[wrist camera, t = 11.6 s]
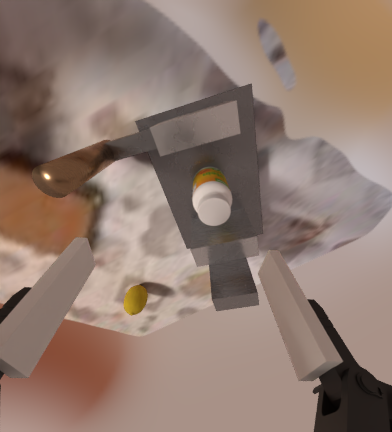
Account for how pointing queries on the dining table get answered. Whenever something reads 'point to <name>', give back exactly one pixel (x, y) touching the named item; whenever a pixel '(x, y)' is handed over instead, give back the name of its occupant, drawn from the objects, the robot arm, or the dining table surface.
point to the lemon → (135, 299)
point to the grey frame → (241, 199)
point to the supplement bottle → (211, 196)
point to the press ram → (137, 147)
